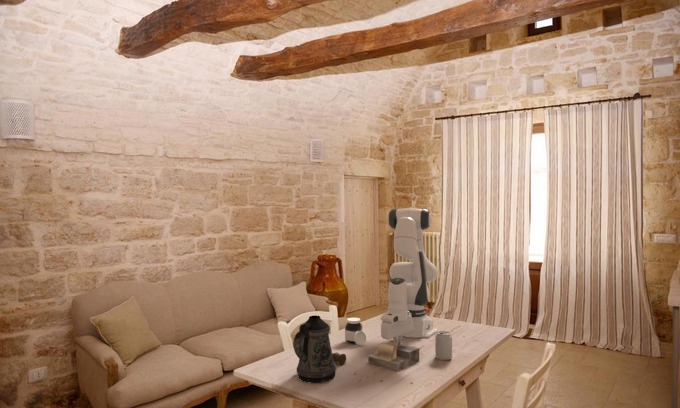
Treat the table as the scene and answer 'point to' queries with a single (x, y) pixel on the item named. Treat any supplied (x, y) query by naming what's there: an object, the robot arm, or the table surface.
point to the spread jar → (354, 332)
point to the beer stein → (314, 351)
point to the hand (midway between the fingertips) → (397, 344)
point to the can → (443, 345)
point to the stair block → (404, 358)
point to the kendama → (339, 358)
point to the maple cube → (387, 351)
